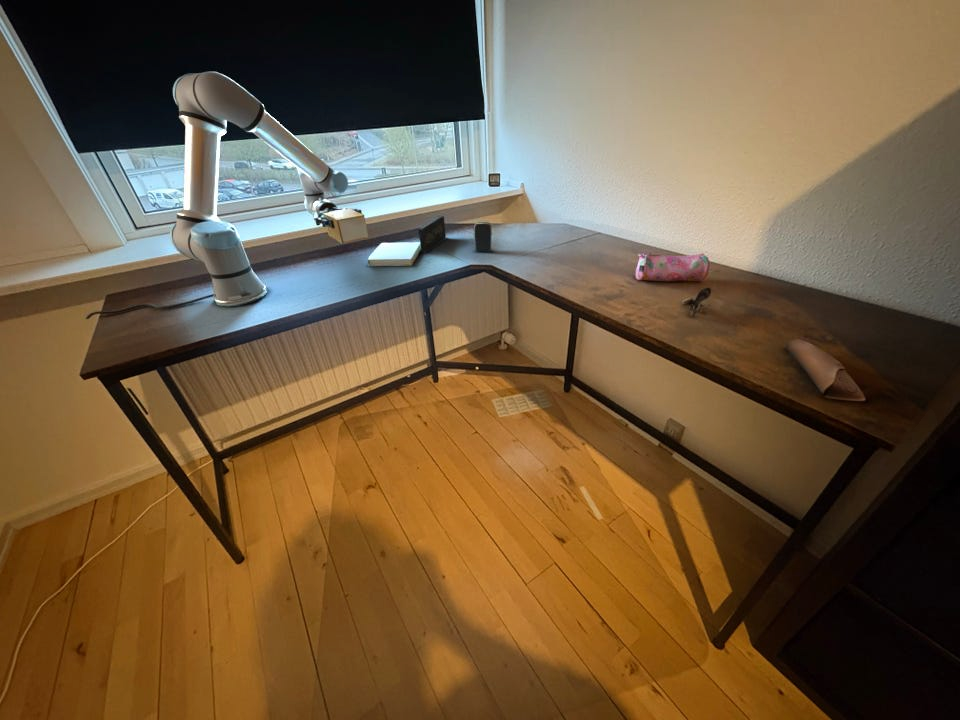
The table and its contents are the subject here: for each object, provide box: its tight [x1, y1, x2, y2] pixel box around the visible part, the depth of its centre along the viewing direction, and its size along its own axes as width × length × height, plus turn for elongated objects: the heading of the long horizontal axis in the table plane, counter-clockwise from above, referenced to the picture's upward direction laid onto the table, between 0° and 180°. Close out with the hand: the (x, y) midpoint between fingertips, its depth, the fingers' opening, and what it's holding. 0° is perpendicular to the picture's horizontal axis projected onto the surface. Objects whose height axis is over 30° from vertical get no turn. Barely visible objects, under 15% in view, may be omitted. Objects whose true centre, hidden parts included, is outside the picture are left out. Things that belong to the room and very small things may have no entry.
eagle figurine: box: [682, 287, 712, 317], centre depth 106 cm, size 8×7×9 cm
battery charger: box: [473, 221, 493, 253], centre depth 153 cm, size 7×4×11 cm, turn 82°
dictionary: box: [323, 209, 369, 245], centre depth 136 cm, size 13×10×8 cm
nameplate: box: [418, 215, 447, 254], centre depth 161 cm, size 21×2×10 cm, turn 161°
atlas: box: [366, 241, 421, 267], centre depth 153 cm, size 17×20×3 cm
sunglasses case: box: [785, 338, 867, 402], centre depth 82 cm, size 18×7×7 cm, turn 167°
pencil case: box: [635, 252, 710, 283], centre depth 123 cm, size 21×9×9 cm, turn 81°
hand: (347, 221), depth 133 cm, fingers closed on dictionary, 10 cm apart
